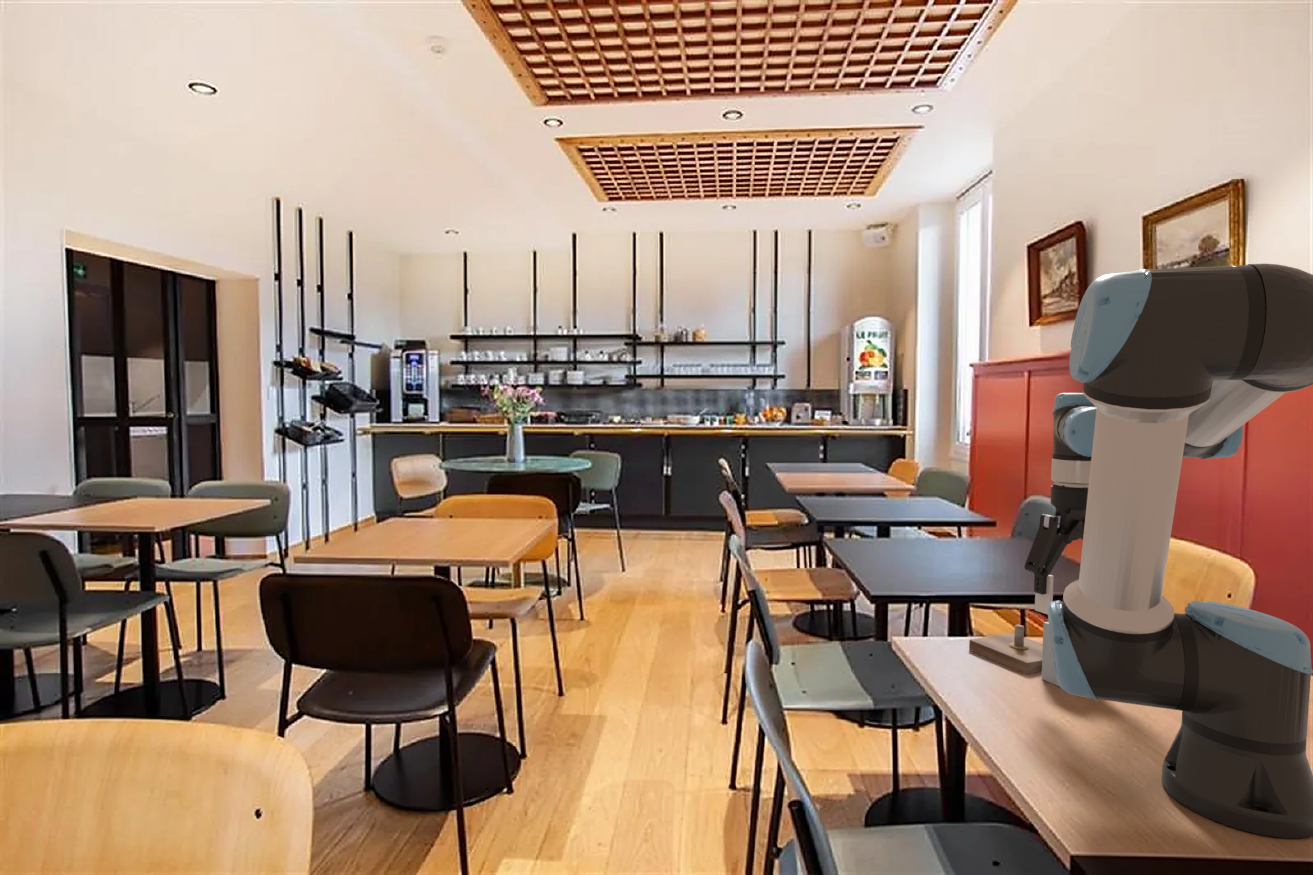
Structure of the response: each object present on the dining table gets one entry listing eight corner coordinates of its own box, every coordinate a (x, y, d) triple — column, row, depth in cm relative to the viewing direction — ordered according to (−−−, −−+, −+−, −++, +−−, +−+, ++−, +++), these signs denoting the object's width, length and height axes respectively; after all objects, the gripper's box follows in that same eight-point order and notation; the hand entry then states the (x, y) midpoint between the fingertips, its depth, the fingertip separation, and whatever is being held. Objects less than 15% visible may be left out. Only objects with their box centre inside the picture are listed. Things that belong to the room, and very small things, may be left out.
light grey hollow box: (1073, 692, 118) (1075, 633, 118) (1041, 678, 124) (1043, 622, 123) (1098, 686, 121) (1100, 628, 120) (1065, 673, 126) (1067, 618, 126)
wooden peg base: (1027, 674, 126) (1028, 640, 126) (969, 650, 138) (970, 619, 138) (1070, 665, 130) (1071, 632, 130) (1010, 642, 142) (1011, 612, 142)
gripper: (1043, 491, 112) (1038, 623, 114) (1147, 482, 122) (1142, 604, 123) (1003, 485, 119) (999, 610, 121) (1105, 477, 129) (1100, 593, 130)
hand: (1071, 607), depth 122 cm, fingers open, 13 cm apart
